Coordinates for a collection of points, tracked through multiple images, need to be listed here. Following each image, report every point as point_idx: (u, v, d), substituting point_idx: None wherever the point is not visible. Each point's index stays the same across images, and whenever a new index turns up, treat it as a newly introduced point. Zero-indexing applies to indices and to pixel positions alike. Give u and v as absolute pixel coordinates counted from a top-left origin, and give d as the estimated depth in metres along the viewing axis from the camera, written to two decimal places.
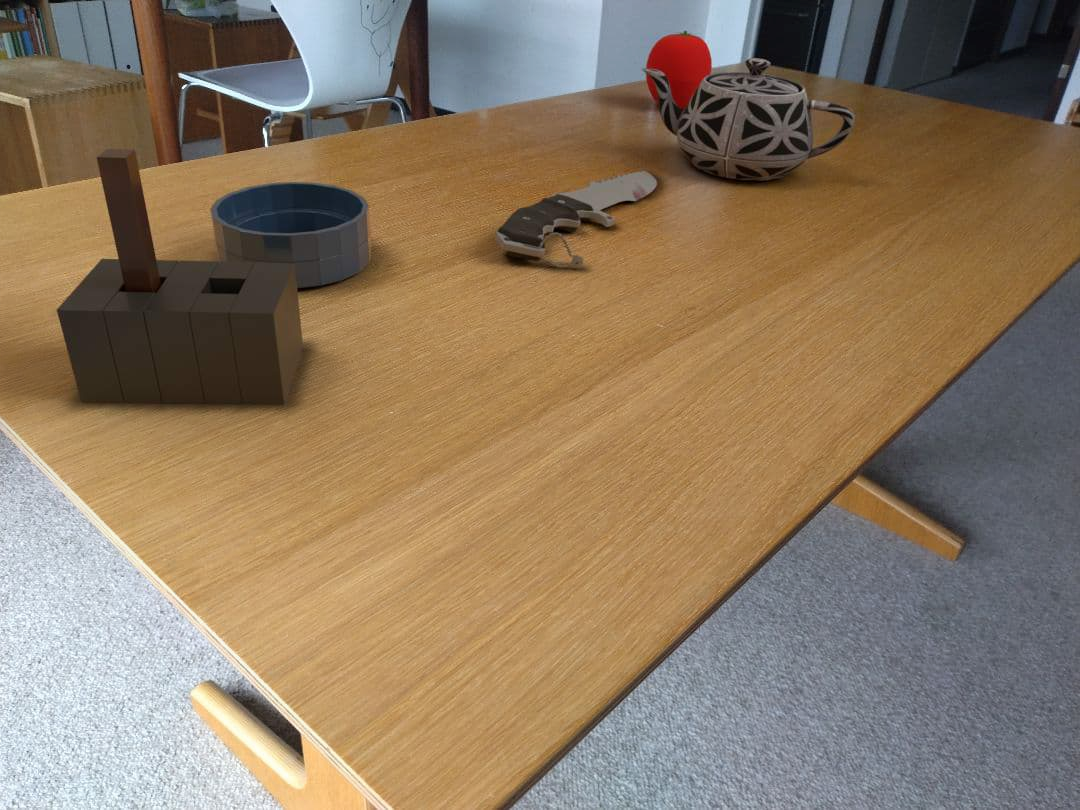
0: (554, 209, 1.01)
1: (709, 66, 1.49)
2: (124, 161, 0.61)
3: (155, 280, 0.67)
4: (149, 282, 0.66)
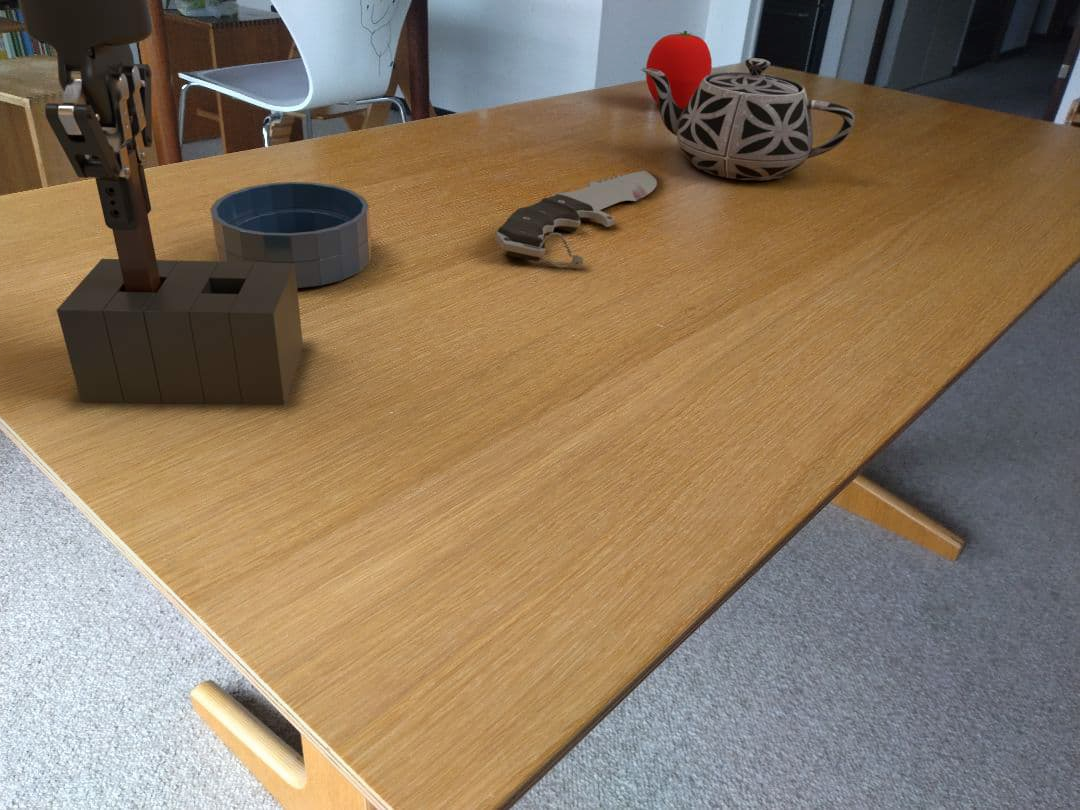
0: (554, 209, 1.01)
1: (709, 66, 1.49)
2: None
3: (156, 280, 0.67)
4: (149, 282, 0.66)
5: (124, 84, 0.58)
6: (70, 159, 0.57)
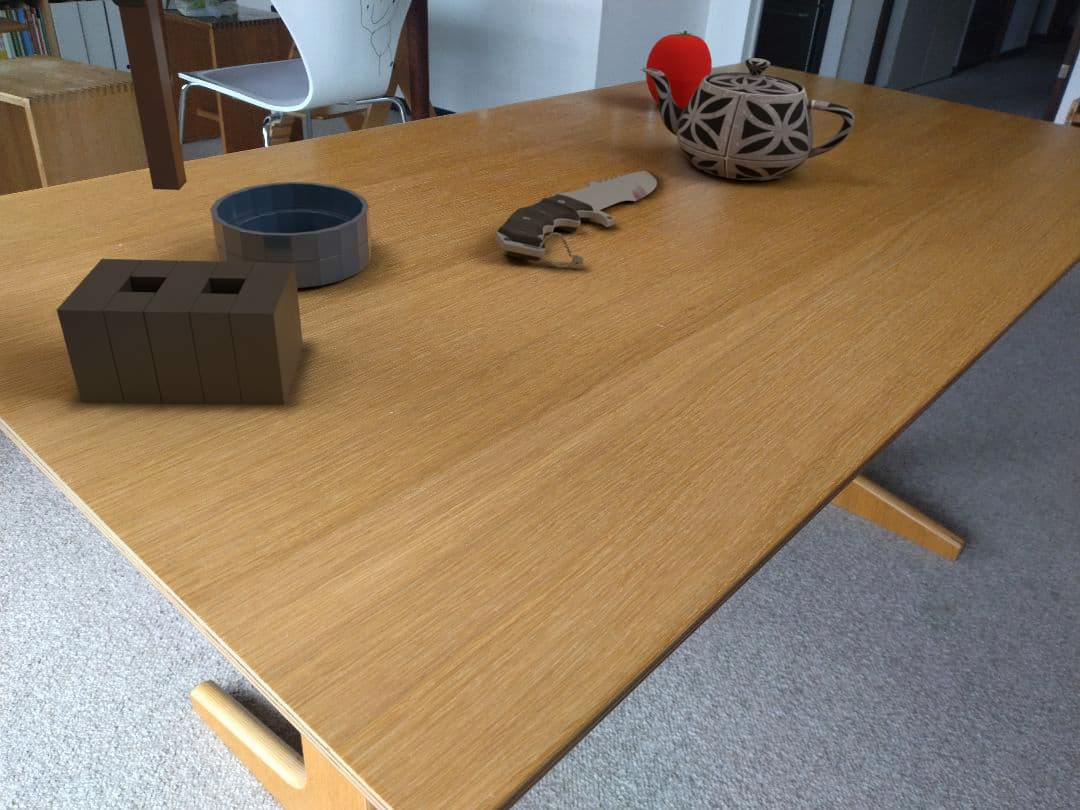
0: (554, 209, 1.01)
1: (709, 66, 1.49)
2: None
3: (164, 74, 0.64)
4: (157, 73, 0.63)
5: None
6: None
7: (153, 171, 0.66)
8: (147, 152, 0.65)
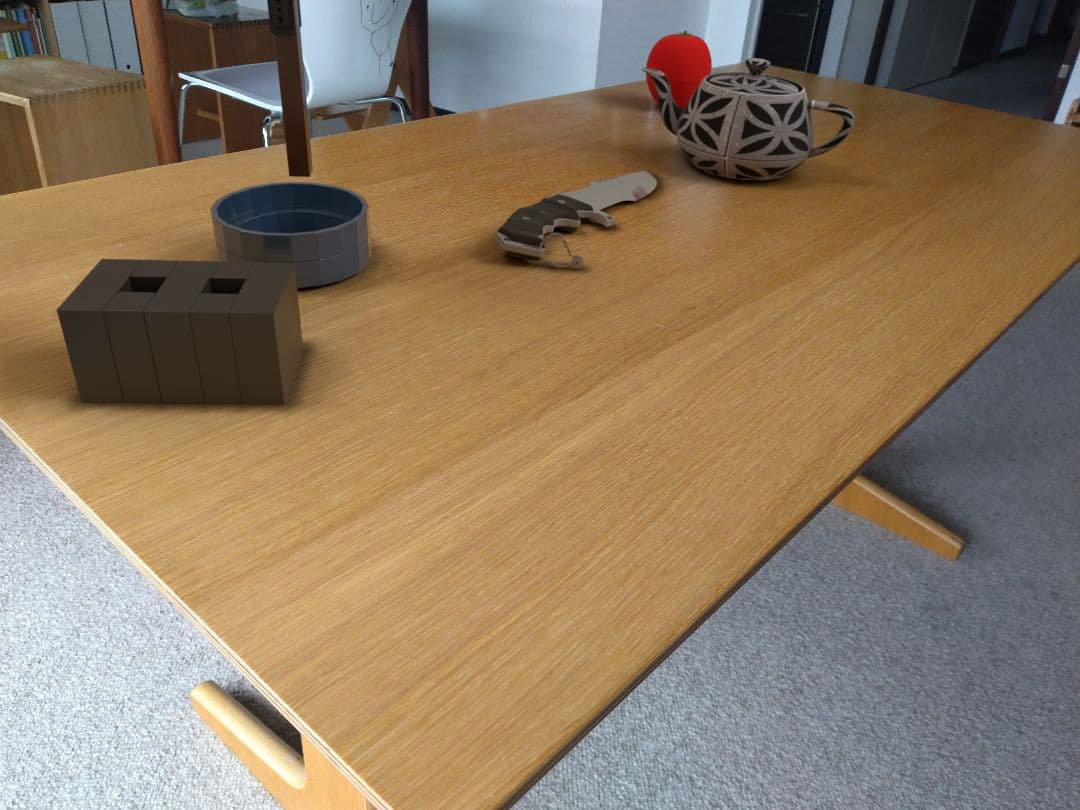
0: (554, 209, 1.01)
1: (709, 66, 1.49)
2: None
3: (303, 86, 0.82)
4: (300, 85, 0.81)
5: None
6: None
7: (290, 162, 0.84)
8: (287, 147, 0.84)
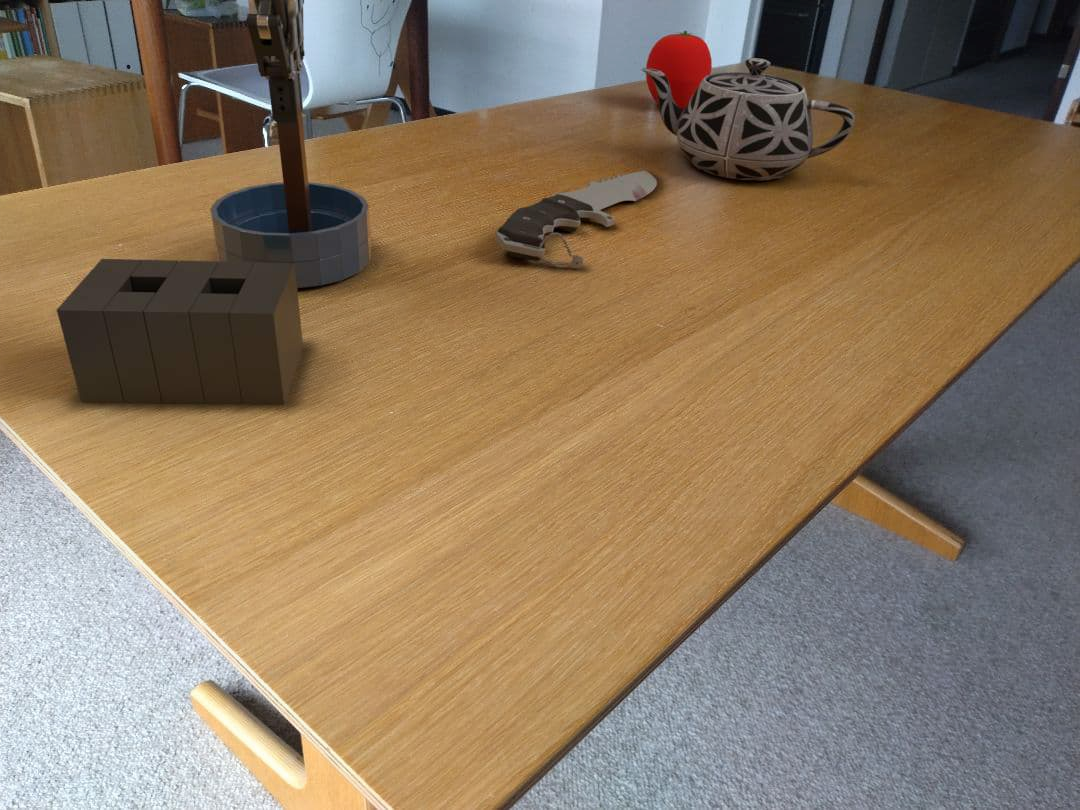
0: (554, 209, 1.01)
1: (709, 66, 1.49)
2: None
3: (305, 168, 0.84)
4: (301, 168, 0.83)
5: (296, 3, 0.75)
6: (257, 60, 0.74)
7: None
8: (289, 225, 0.86)
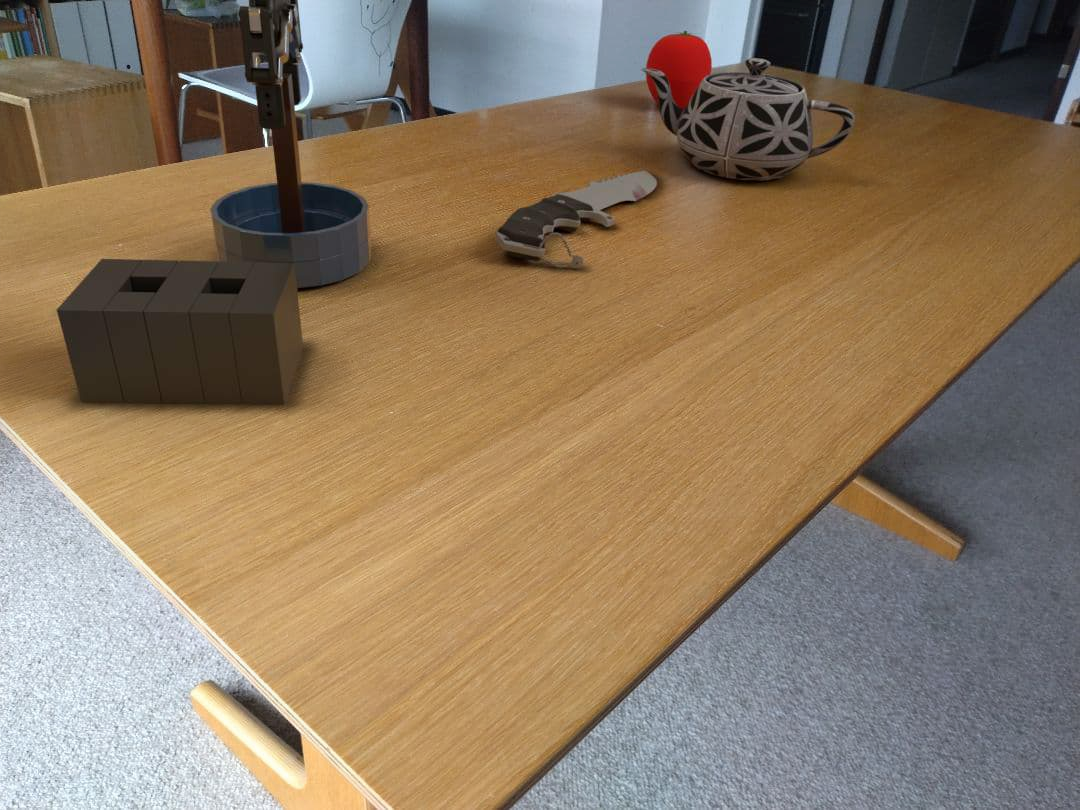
0: (554, 209, 1.01)
1: (709, 66, 1.49)
2: (286, 81, 0.80)
3: (299, 178, 0.86)
4: (296, 178, 0.85)
5: (291, 17, 0.77)
6: (245, 58, 0.74)
7: None
8: None
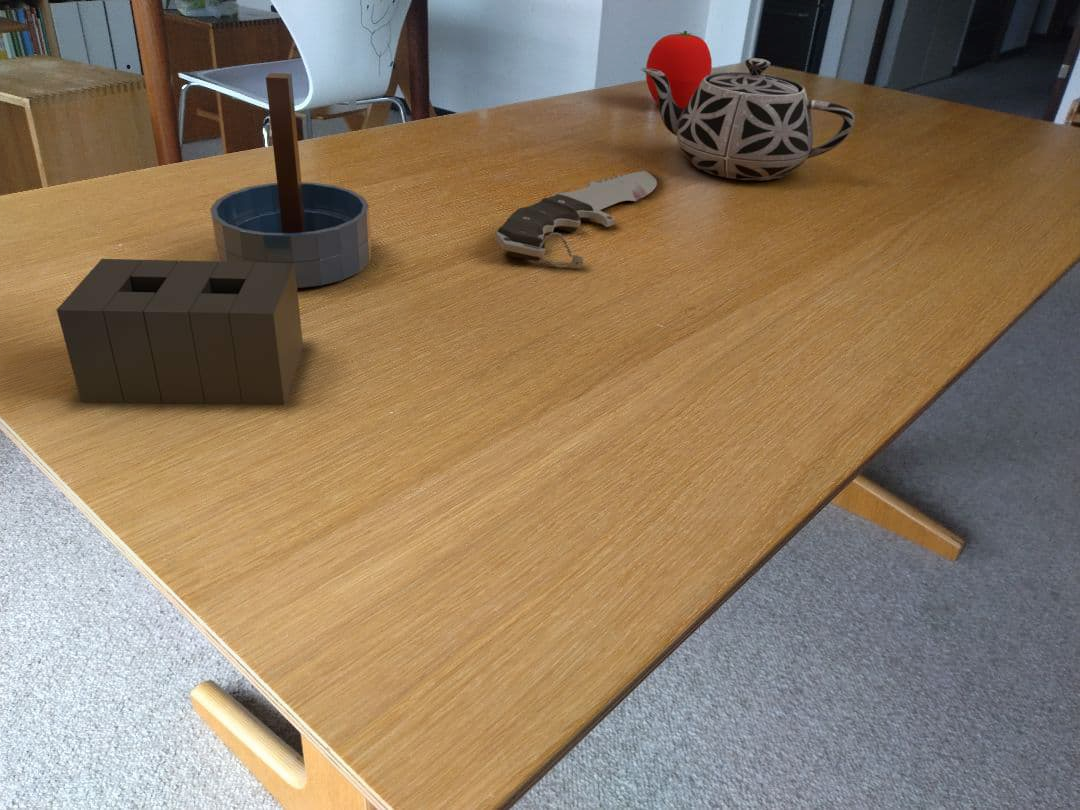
0: (554, 209, 1.01)
1: (709, 66, 1.49)
2: (286, 81, 0.80)
3: (299, 178, 0.86)
4: (296, 178, 0.85)
5: None
6: None
7: None
8: None
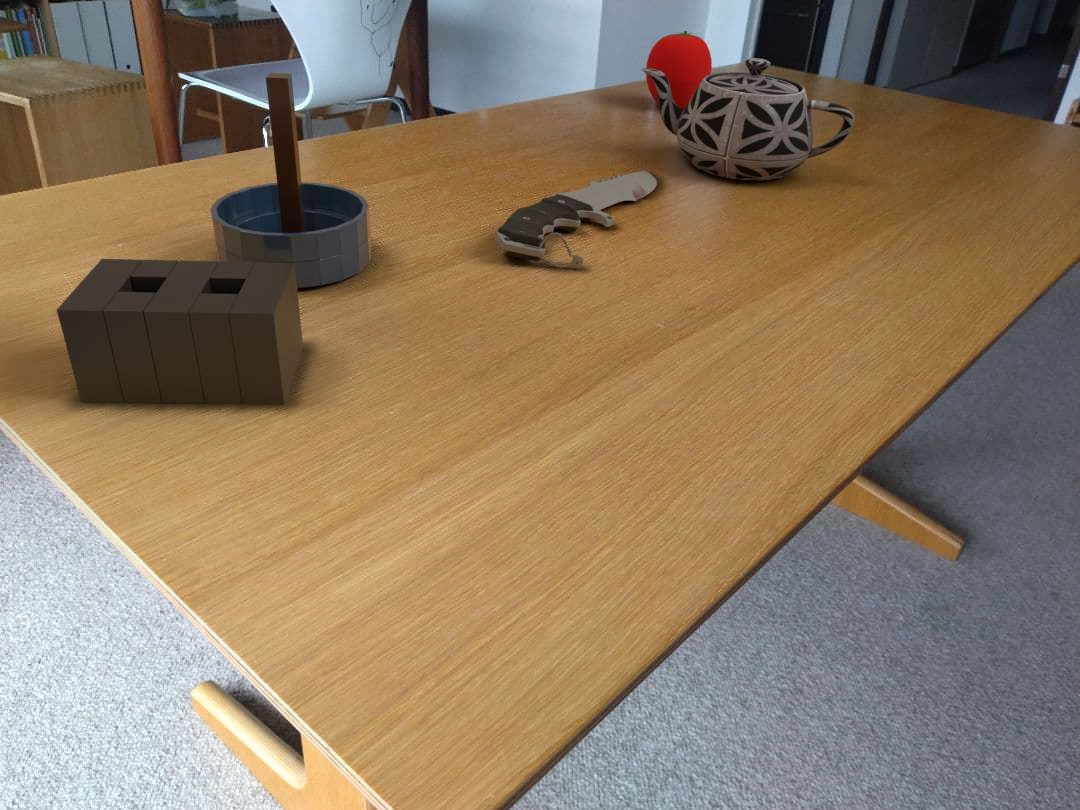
0: (554, 209, 1.01)
1: (709, 66, 1.49)
2: (286, 81, 0.80)
3: (299, 178, 0.86)
4: (296, 178, 0.85)
5: None
6: None
7: None
8: None
